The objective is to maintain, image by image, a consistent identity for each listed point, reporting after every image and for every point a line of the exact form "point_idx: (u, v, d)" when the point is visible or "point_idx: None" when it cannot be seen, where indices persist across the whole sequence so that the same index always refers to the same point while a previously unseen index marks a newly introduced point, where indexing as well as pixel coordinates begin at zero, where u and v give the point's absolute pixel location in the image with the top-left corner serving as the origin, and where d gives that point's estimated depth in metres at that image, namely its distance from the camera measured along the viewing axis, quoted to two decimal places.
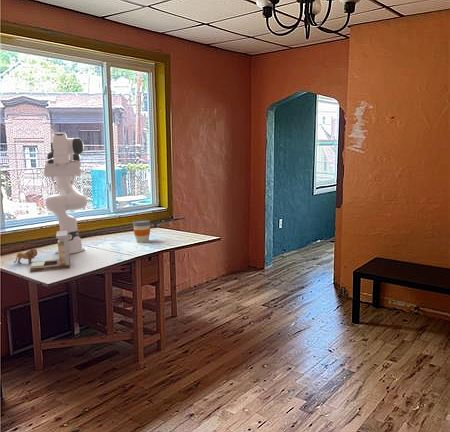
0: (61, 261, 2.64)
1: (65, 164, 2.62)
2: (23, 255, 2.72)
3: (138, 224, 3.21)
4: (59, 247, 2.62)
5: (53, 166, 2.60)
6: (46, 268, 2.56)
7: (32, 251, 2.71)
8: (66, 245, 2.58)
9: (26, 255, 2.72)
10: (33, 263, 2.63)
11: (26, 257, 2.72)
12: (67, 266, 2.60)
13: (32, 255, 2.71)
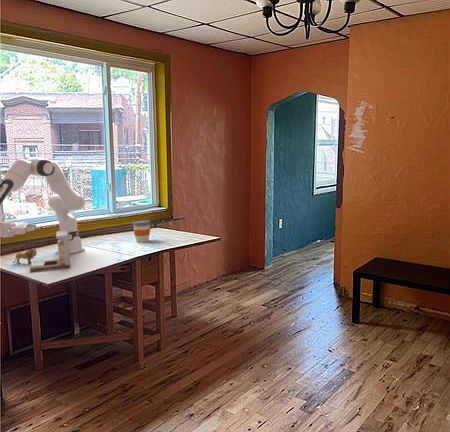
0: (61, 261, 2.64)
1: None
2: (22, 255, 2.72)
3: (138, 224, 3.21)
4: (59, 247, 2.62)
5: None
6: (46, 268, 2.56)
7: (31, 251, 2.72)
8: (66, 245, 2.58)
9: (25, 255, 2.72)
10: (33, 263, 2.63)
11: (25, 257, 2.72)
12: (67, 266, 2.60)
13: (31, 255, 2.71)
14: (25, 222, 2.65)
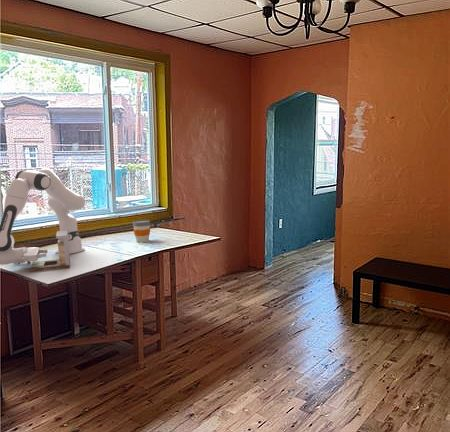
0: (61, 261, 2.64)
1: None
2: None
3: (138, 224, 3.21)
4: (59, 247, 2.62)
5: None
6: (46, 268, 2.56)
7: None
8: (66, 245, 2.58)
9: None
10: (33, 263, 2.63)
11: None
12: (67, 266, 2.60)
13: None
14: (36, 247, 2.70)
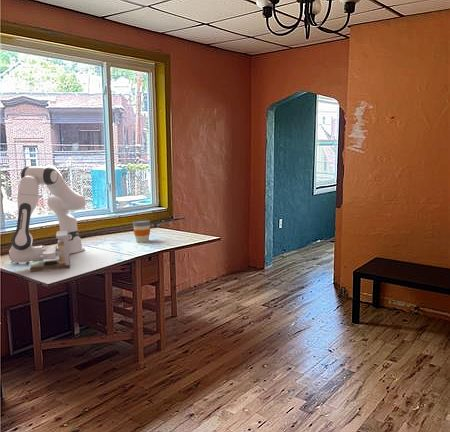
0: (61, 261, 2.64)
1: None
2: None
3: (138, 224, 3.21)
4: (59, 247, 2.62)
5: None
6: (46, 268, 2.56)
7: None
8: (66, 245, 2.58)
9: None
10: (33, 263, 2.63)
11: None
12: (67, 266, 2.60)
13: None
14: None
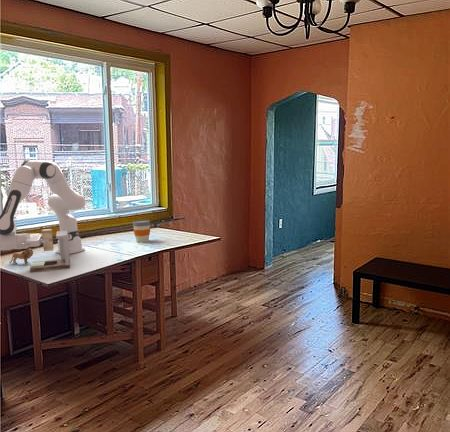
0: (45, 249, 2.60)
1: None
2: (19, 255, 2.72)
3: (138, 224, 3.21)
4: (43, 235, 2.59)
5: None
6: (46, 268, 2.56)
7: (28, 251, 2.72)
8: (66, 245, 2.58)
9: (22, 255, 2.72)
10: (33, 263, 2.63)
11: (22, 257, 2.72)
12: (67, 266, 2.60)
13: (28, 255, 2.72)
14: None
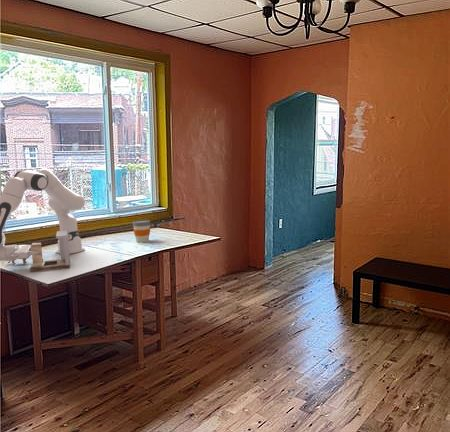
0: (34, 263, 2.59)
1: None
2: None
3: (138, 224, 3.21)
4: (32, 249, 2.58)
5: None
6: (46, 268, 2.56)
7: None
8: (66, 245, 2.58)
9: None
10: None
11: None
12: (67, 266, 2.60)
13: None
14: None
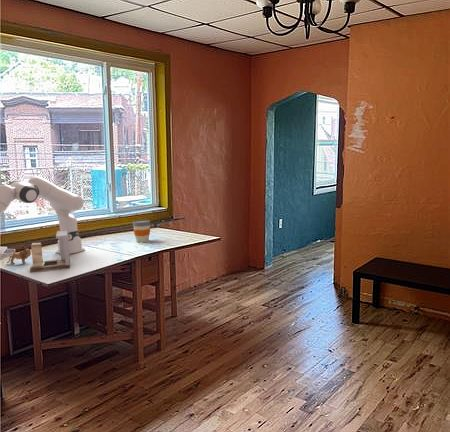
0: (34, 263, 2.59)
1: None
2: (16, 255, 2.72)
3: (138, 224, 3.21)
4: (32, 249, 2.58)
5: None
6: (46, 268, 2.56)
7: (26, 251, 2.72)
8: (66, 245, 2.58)
9: (19, 255, 2.72)
10: None
11: (19, 257, 2.72)
12: (67, 266, 2.60)
13: (26, 255, 2.72)
14: None
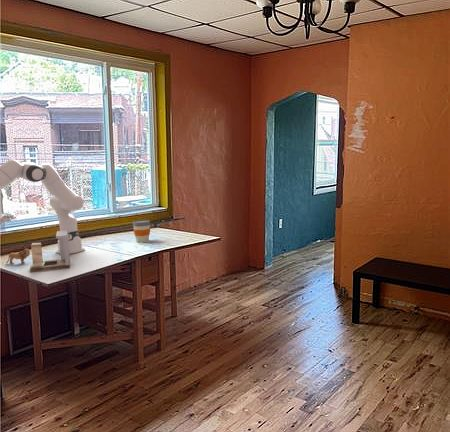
0: (34, 263, 2.59)
1: None
2: (15, 255, 2.72)
3: (138, 224, 3.21)
4: (32, 249, 2.58)
5: None
6: (46, 268, 2.56)
7: (25, 251, 2.72)
8: (66, 245, 2.58)
9: (18, 255, 2.72)
10: None
11: (18, 257, 2.72)
12: (67, 266, 2.60)
13: (25, 255, 2.72)
14: (2, 213, 2.63)
